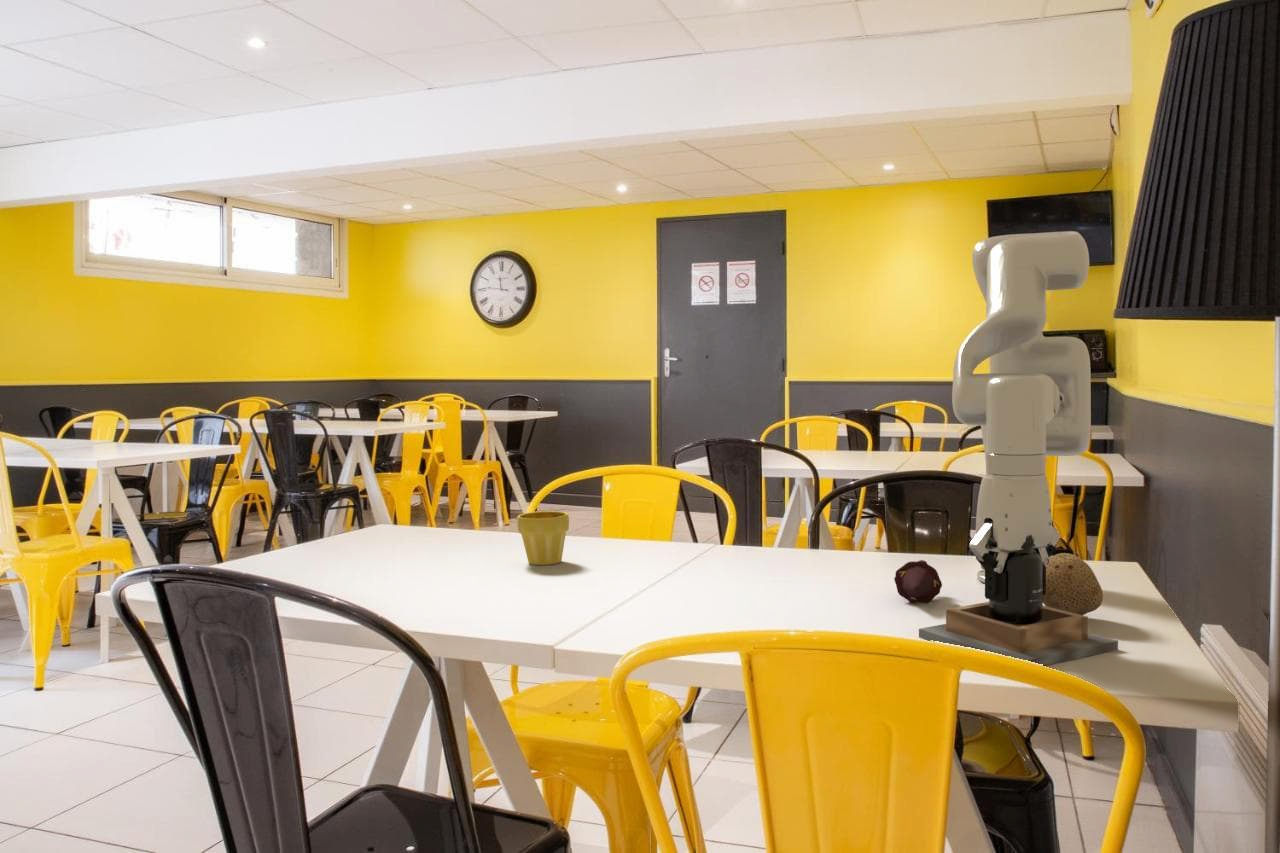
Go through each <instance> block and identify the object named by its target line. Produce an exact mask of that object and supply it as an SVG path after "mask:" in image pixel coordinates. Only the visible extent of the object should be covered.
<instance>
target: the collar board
mask: <svg viewBox="0 0 1280 853" xmlns="http://www.w3.org/2000/svg"><path fill="white" fill-rule="evenodd" d="M918 638H920V639H923V640H926V639H927V640H926V641H929V640H933V641H939V642H943V643H949V644H954V645H960V646H964V647H971V648H975V649H980V650H985V651H990V652H994V653H998V654H1002V655H1005V656H1011V657H1014V658H1019V659H1023V660H1028V661H1031V662H1035V663H1038V664H1043V665H1046V666H1049V665H1055V664H1059V663H1063V662H1068V661H1072V660H1077V659H1081V658H1085V657H1090V656H1096V655H1100V654H1104V653H1108V652H1113V651H1117V650H1119V640H1117V639H1113V638H1109V637H1107V636H1103V635H1099V634H1098V635H1097V634H1094V633H1091V632H1089V617H1088V616H1086V615H1079V614H1075V613H1071V612H1067V611H1063V610H1059V609H1055V608H1051V607H1047V606H1045V605H1043V608H1042V620H1041V621H1040V622H1039V623H1035V624H1029V625H1018V624H1008V623H1004V622H1000V621H997V620H993V619H992V618H991V617H990V614H989V601H985V602H980V603H973V604H969V605H968V604H967V605H963V606H956V607H952V608H946V609H945V623H944V624H943V623H942V624H938V625H937V624H936V625H932V626H927V627H923V628H922V627H921V628H918Z"/></svg>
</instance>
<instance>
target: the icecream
mask: <svg viewBox="0 0 1280 853" xmlns="http://www.w3.org/2000/svg"><path fill="white" fill-rule="evenodd" d="M893 580H894V583H895V586H896V590H897V593H898V595H899V596H901V597H902V598H903V599H905V600H907V601H908V602H910V603H912V604H928V603H931V602H932V601H933V600H934V599H935V597H937V596H938V595H939V594H940V592H941V589H942V586H943V583H942V580H941V578H940V576H939V573H938V571H937V569H936V568H934V567H933V566H931V565H930V564H928V562H927V561H926V560H923V559H921V560H917V561H914V560H913V561H908V562H906V563H904V565H903V566H901V567H899V568H898V569H897V570H896V571H895V575H894V578H893Z"/></svg>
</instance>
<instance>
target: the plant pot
mask: <svg viewBox="0 0 1280 853" xmlns="http://www.w3.org/2000/svg"><path fill="white" fill-rule="evenodd" d="M516 520H517V522H516V523H517V532H518V533H519V534H520V535H521V538H522V542H523V546H524V550H525V554H526V558H527V561H528V562H527V563H528V564H529V565H531V566H532V565H533V566H551V565H556V564H560V563H561V561H562V560H563V559H562V558H563V553H564V546H565V539H566V533H567V532H568V531H569V529H570V518H569V513H568V512H565V511H557V510H544V511H543V510H542V511H531V512H530V511H529V512H525V513H522V514H519V515H517V518H516Z"/></svg>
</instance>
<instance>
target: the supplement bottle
mask: <svg viewBox="0 0 1280 853" xmlns="http://www.w3.org/2000/svg"><path fill="white" fill-rule="evenodd" d="M1033 547H1035V544H1034V537H1033V539H1032V535H1031V536H1030V535H1029V536H1026V541H1025V542H1024V543H1023V545H1022V546H1021V548H1023V549H1022V550H1019V551H1017V552H1009V553H1008V556H1007V559H1006V562H1005V565H1004V568H1003V570H1002V572H1005V573H1006V601H1005V602H998V601H994V600H990V599H988V602H989V614H990V617H991V618H992V619H993V620H997V621H1000V622H1004V623H1008V624H1018V625H1029V624H1035V623H1039V622H1040V621H1041V620H1042V608H1043V606H1044V603H1043V560H1042V558H1041V556H1040V555H1039V554H1038V553H1036V552H1035V551H1033ZM997 556H998V554H995V553H994V557H993V558H994V559H995V560H996V559H997Z"/></svg>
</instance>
